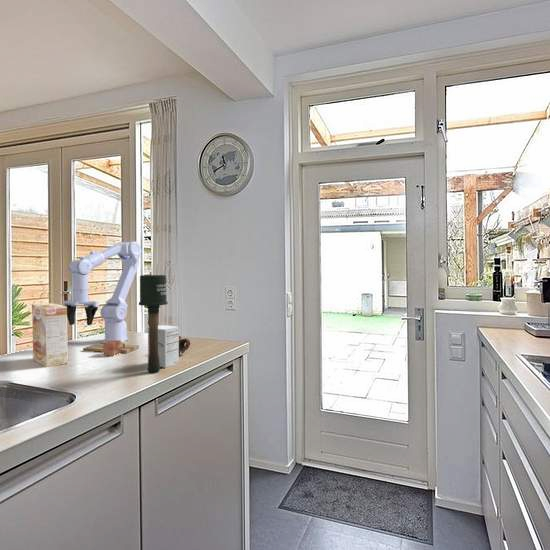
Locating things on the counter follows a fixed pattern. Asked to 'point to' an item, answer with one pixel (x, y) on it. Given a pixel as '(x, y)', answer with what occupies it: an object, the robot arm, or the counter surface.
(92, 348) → the board
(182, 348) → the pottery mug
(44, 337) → the coffeecake box
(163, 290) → the stick grenade
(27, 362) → the counter surface
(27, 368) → the counter surface
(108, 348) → the brown block with stick
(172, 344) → the supplement box
